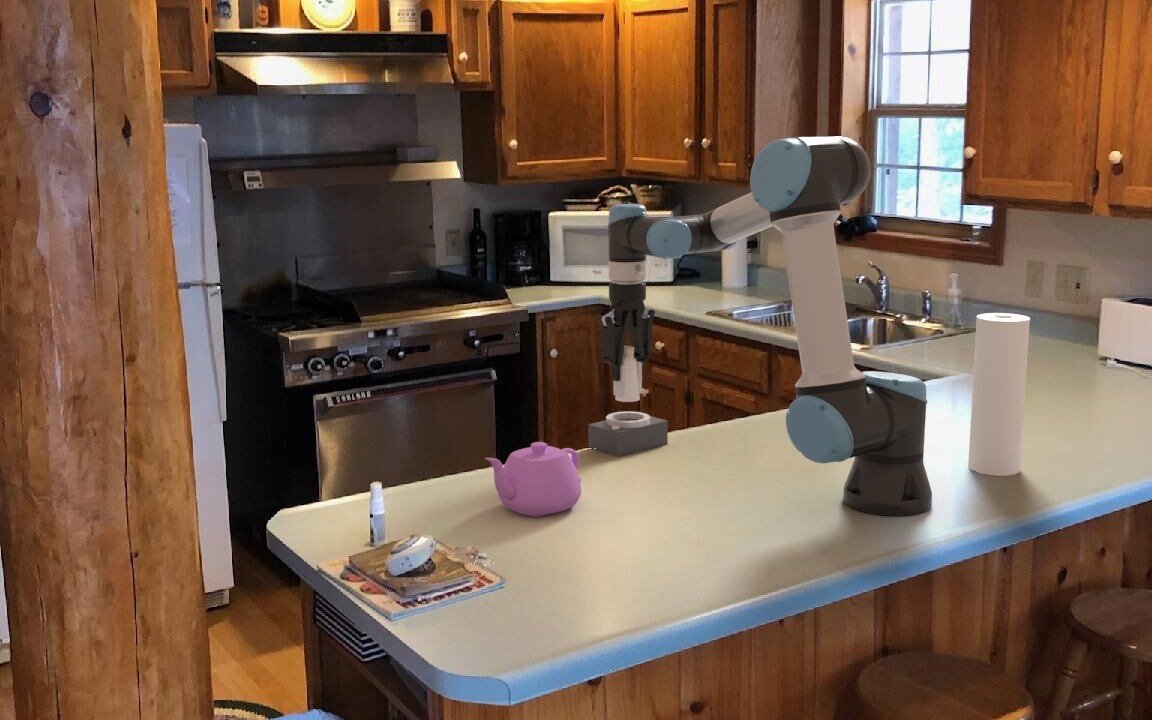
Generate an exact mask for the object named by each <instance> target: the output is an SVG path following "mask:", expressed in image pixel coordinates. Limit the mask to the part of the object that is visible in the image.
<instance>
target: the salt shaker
mask: <svg viewBox="0 0 1152 720" xmlns="http://www.w3.org/2000/svg"><path fill="white" fill-rule="evenodd" d="M633 357H634V347H633V346H631V345H624V352H623V359H622V364H621V365H625V397H619V396H616V395H614V396H615V399H614V400H615V401H618V402H622V403H633V402H637V401H640V400H641V399H640V398H641V397H640V396H641V395H640V393H639V385H638V375H637V364H636V358H633Z"/></svg>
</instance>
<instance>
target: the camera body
mask: <svg viewBox="0 0 1152 720" xmlns="http://www.w3.org/2000/svg"><path fill="white" fill-rule="evenodd" d="M668 422H669V421H668V420H667V419H662V418H658V417H655V416H653V415H649V414H647V413H644V412H641V411H628V410H627V411H617V412H612V413H609V414H607V415H606V416H605V420H602V421H598V422H597V421H596V422H593V423H588V425H587V429H588V433H587V434H588V448H589V449H592V450H595V451H598V452H601V453H604V454H607V455H611V456H614V457H617V458H618V457H619V458H620V457H623V456H626V455H627V456H628V455H631V454H634V453H635V454H636V453H637V452H641V451H646V450H650V449H652V448H653V449H654V448H657V447H661V446H664V445H665V446H666V445H668V441H669V439H668V435H669V433H668V427H669V426H668ZM594 448H596V449H594Z"/></svg>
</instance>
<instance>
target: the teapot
mask: <svg viewBox="0 0 1152 720" xmlns="http://www.w3.org/2000/svg"><path fill="white" fill-rule="evenodd" d="M570 454H571V456H570ZM484 460H487V461H488V462H490V464H491V466H492V468H493V480H494V486H495V489H496V491H497V496H498V498H499V499H500V501H501V503H502V504H503V505H504V507H505V508H507V509H508V510H511V511H513V512H515V513H517V514H521V515H524V516H530V517H533V518H540V517H543V516H544V515H550V514H555V513H556V514H557V513H559V512H563V511H566V510H569V509H571V508H572V507H574V506H576V504H577V502H578V501H579V499H580V497H581V495H582V484H581V483H582V481H581V478H580V476H579V473H578V468H579V462H580V457H579V454H578V452H577V451H576V450H575V449H573V448H571V447H564V448H561V449H560V448H558V447H555V446H551V445H548V443H546V442H544V441H535V442H532V443H530V447H529V446H528V447H524V448H521V449H517V450H515V451H513V452H511V453H510V454H509V456H508V457H507V459H506V461H505V464H504V466H503V464H502V461H501V460H499V459H498V458H494V457H484Z"/></svg>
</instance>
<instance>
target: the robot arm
mask: <svg viewBox="0 0 1152 720" xmlns="http://www.w3.org/2000/svg"><path fill="white" fill-rule="evenodd" d="M871 174H872V173H871V162H870V159H869V157H868V154H867V153H866V151H865V150H864V148H863V147H862V146H861V145H860V144H859V143H857V142H855V140H852V139H851V138H848V137H844V136H841V135H840V136H838V135H837V136H834V135H833V136H832V135H831V136H793V137H787V138H781V139H779V138H778V139H775V140H773V141H771V142H769V143H767V144H766V145H765V146H764V147H762V149H760V151H759V152H758V153H757V157H756V158H755V159H754V161H753V164H752V167H751V171H750V178H749V180H750V181H749V187H750V192H749V193H747V194H744V195H742V196H740V197H738V198H735V199H734V200H731V201H729V202H727V203H725V204H723V205H721V206H719V207H717V208H715V209H712V210H711V211H708V212H706V213H702V214H693V215H690V214H689V215H682V216H681V215H680V216H678V215H677V216H668V217H651V216H648V214H647V208H646V206H645V205H643V204H638V203H618V204H614V205H611V207H609V210H608V224H607V228H608V231H607V233H608V279H609V280H610V282H609V284H608V300H609V301H610V308H609V312H607V314H605V315H603V314H601V315H599V317H598V318H599V319H598V320H599V322H600V326H601V338H602V339H601V341H602V345H601V346H602V361H603V363H605V364H609V365H610V366H611V367H610V372H611V373H610V374H611V376H610V379H611V381H613V382H612V384H613V390H612V391H613V396H619V397H625V365H621V364H622V359H623V352H624V346H626V345H625V343H626V339H627V338H626V337H627V333H629V339H630V346H633V347H634V357H633V358H636V364H637V375H638V385H639V394H642V393H643V376H644V374H645V367H644V366H645V365H644V363H647V362H648V361H649V358H650V357H651V356H652V355H653V354H652V353H653V352H652V351H653V350H652V349H653V324H654V317H655V314H656V311H655V310H654V309H651V308H646V306H645V302H644V301H646V299H647V284H646V282H645V281H646V279H647V256H649V257H655V258H660V259H664V260H667V259H673V260H675V259H680V258H682V257H683V256H684V255H690V254H698V253H707V252H708V253H709V252H715V253H716V252H717V253H718V252H722V251H724V250H729V249H732V248H733V247H735V246H736V244H737V242H739V241H740V240H743V239H746V238H748V237H751V236H752V235H755V234H757V233H759V232H762V231H765V230H766V229H769V228H772V227H774V229H776V230H777V231H779V233H780V234H781V237H782V245H783V252H784V259H785V264H786V265H785V266H786V272H787V278H788V285H789V290H790V291H789V292H790V300H791V305H792V312H793V313H792V314H793V318H794V319H793V320H794V326H795V331H796V338H797V339H796V341H797V345H798V347H797V348H798V353H799V359H800V365H801V366H800V367H801V371H802V372H801V373H802V374H801V375H800V377H799V379H798V380H797V381H796V383H795V384H794V387H795V393H796V394H795V395H796V398H795V399H794V400H793V401H792V402H791V403H790V404H789V406H788V410H786V414H785V427H786V431H787V434H788V437H789V439H790V442H791V443H792V445H793V447H794V448H795V449H796V450H797V451H798V452H799V453H801V455H802V456H803V457H804V458H805V459H807V460H809V461H811V462H813V463H817V464H830V463H841V462H844V461H846V460H848V459H852V458H854V459H853V463H852V465H851V467H850V470H849V472H848V475H847V478H846V480H845V483H844V486H843V491H842V492H843V495H842V496H843V497H842V500H843V502H844V504H846V505H847V506H849V507H850V508H852V509H854V510H856V511H860V512H864V513H866V514H872V515H882V516H895V517H896V516H899V517H900V516H911V515H918V514H921V513H922V514H923V513H924V512H927V511H928V510H929V509H931V507H932V505H933V504H932V503H933V492H932V487H931V485H930V481H929V477H928V474H927V470H926V467H925V464H924V453H925V436H926V435H925V433H926V418H927V416H926V414H927V404H928V400H927V385H926V383H925V382H924V381H923V380H922V379H920V378H918V377H915V376H911V375H907V374H900V373H896V372H895V373H894V372H886V371H875V370H874V371H873V370H872V371H871V370H869V371H868V370H867V371H860V370H858V369H857V368H856V366H855V362H854V361H855V360H854V355H853V349H852V342H851V335H850V334H851V333H850V328H849V321H848V315H847V309H846V308H847V307H846V301H845V294H844V288H843V282H842V274H841V267H840V261H839V260H840V259H839V254H838V246H837V241H836V234H835V227H834V224H835V222H836V221H837V219H838V218H839V216H840V215H841V213H842V212H841V211H842V210H841V205H844V204H847V203H850V202H852V201H854V200H857V198H859V196H861V195H862V194H863V192H864V191H865V190H866V188H867V186H868V184H869V182H870V178H871Z"/></svg>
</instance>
